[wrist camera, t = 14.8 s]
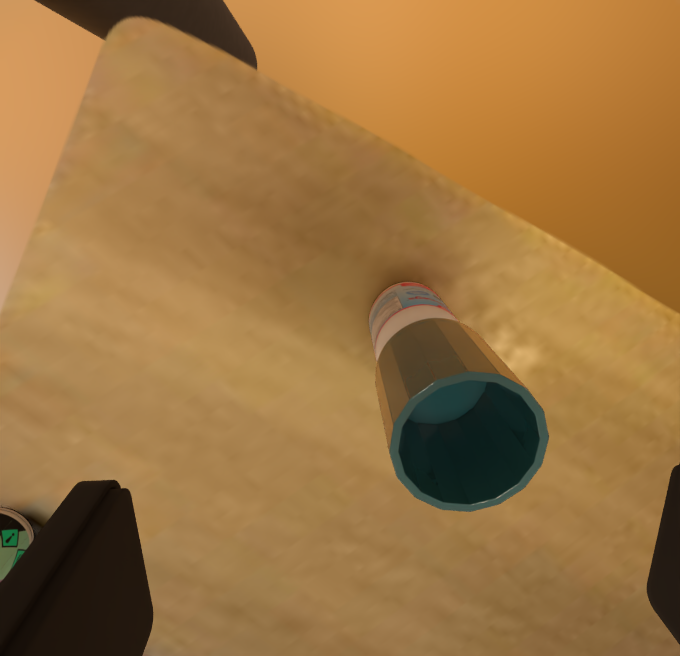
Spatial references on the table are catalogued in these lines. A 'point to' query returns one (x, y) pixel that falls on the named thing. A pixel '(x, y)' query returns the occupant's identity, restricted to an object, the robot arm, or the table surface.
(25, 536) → the spray can
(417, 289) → the pill bottle
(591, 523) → the table surface
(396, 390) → the cup
